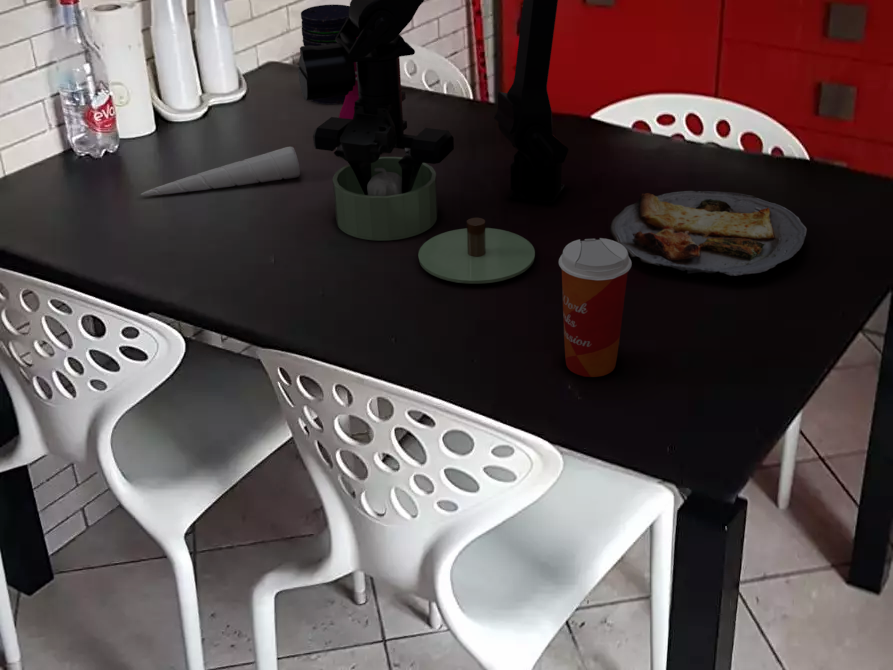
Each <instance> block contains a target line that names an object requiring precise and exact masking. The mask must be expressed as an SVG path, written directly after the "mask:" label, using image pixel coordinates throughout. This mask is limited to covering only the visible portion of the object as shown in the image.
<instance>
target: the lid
mask: <svg viewBox="0 0 893 670" xmlns="http://www.w3.org/2000/svg"><path fill="white" fill-rule="evenodd" d="M417 256H418V262H419V265H420V267H421V268H422V269H423V270H424V271H425V272H426V273H428V274H430V275H431V276H434V277H435V278H438V279H441V280H444V281H448V282H452V283H459V284H468V285H469V284H471V285H474V284H476V285H479V284H493V283H498V282H503V281H506V280H509V279H513V278H515V277H517V276H520V275H521V274H523V273H525V272H526V271H527V270H529V269H530V268H531V267H532V265H533V264H534V262H535V259H536V250H535V247H534V246H533V244H532V243H531V242H530V241H529V240H528V239H526V237H525V238H524V237H523V236H521V235H519V234H517V233H514V232H511V231H509V230H504V229H500V228H491V227H486V220H485V219H484V218H481V217H471V218H468V219H467V220H466V227H465V228H459V229H458V228H457V229H453V230H449V231H445V232H442V233H439V234H436V235H435V236H432V237H431V238H429V239H428V240H426V241H425V242H424V243H423V244H422V245H421V246H420V248H419V250H418V254H417Z"/></svg>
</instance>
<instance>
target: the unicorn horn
mask: <svg viewBox="0 0 893 670" xmlns="http://www.w3.org/2000/svg"><path fill="white" fill-rule="evenodd" d="M300 174H301V170H300V163H299V158H298V155H297V152H296V150H295V148H294V146H292V145H291V146H285V147H281V148H279V149H275V150H272V151H268V152H266V153H262V154H258V155H255V156H252V157H248V158H245V159H242V160H239V161H235V162H231V163H227V164H225V165H222V166H219V167H215V168H210V169H208V170H205V171H202V172H198V173H196V174H191V175H189V176H186V177H183V178H180V179H177V180H174V181H171V182H168V183H164V184H162V185H159V186H156V187H153V188H151V189H147V190H145V191H143V192H141V193H140V196H161V195H162V196H163V195H172V194H181V193H187V192H198V191H207V190H212V189H222V188H223V189H224V188H229V187H235V186H244V185H252V184H259V183H266V182H267V183H268V182H274V181H282V180H283V179H284V180H289V179H296V178H299V177H300V176H301V175H300Z"/></svg>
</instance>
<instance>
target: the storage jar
mask: <svg viewBox="0 0 893 670" xmlns="http://www.w3.org/2000/svg"><path fill="white" fill-rule="evenodd" d="M349 7H350V5H347V4H346V5H345V4H319V5H314V6H310V7H308V8H305V9H303V10H302V11H301V12H300V18H301V35H302V43H303V46H308V45H311V46H321V45H329V44H337V42H336V40H335V38H336V36H337V35H338V33H339V31H340V30H341V28H342V26H343V25H344V23H345V21H346V20H347V18H348V16H349ZM345 96H346V95H343V96H336V97H329V98H321V99H314V100H310V101H311V102H314V103H317V104H321V105H340V104H341V105H343V103H344V100H345Z"/></svg>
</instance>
